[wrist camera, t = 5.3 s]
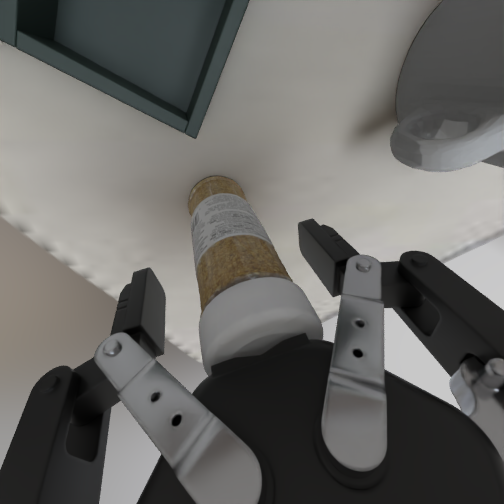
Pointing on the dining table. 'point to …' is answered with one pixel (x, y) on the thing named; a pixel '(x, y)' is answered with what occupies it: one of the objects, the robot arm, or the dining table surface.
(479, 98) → the coffee mug
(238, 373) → the robot arm
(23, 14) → the rack
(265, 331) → the sprinkles bottle
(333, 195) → the dining table surface
